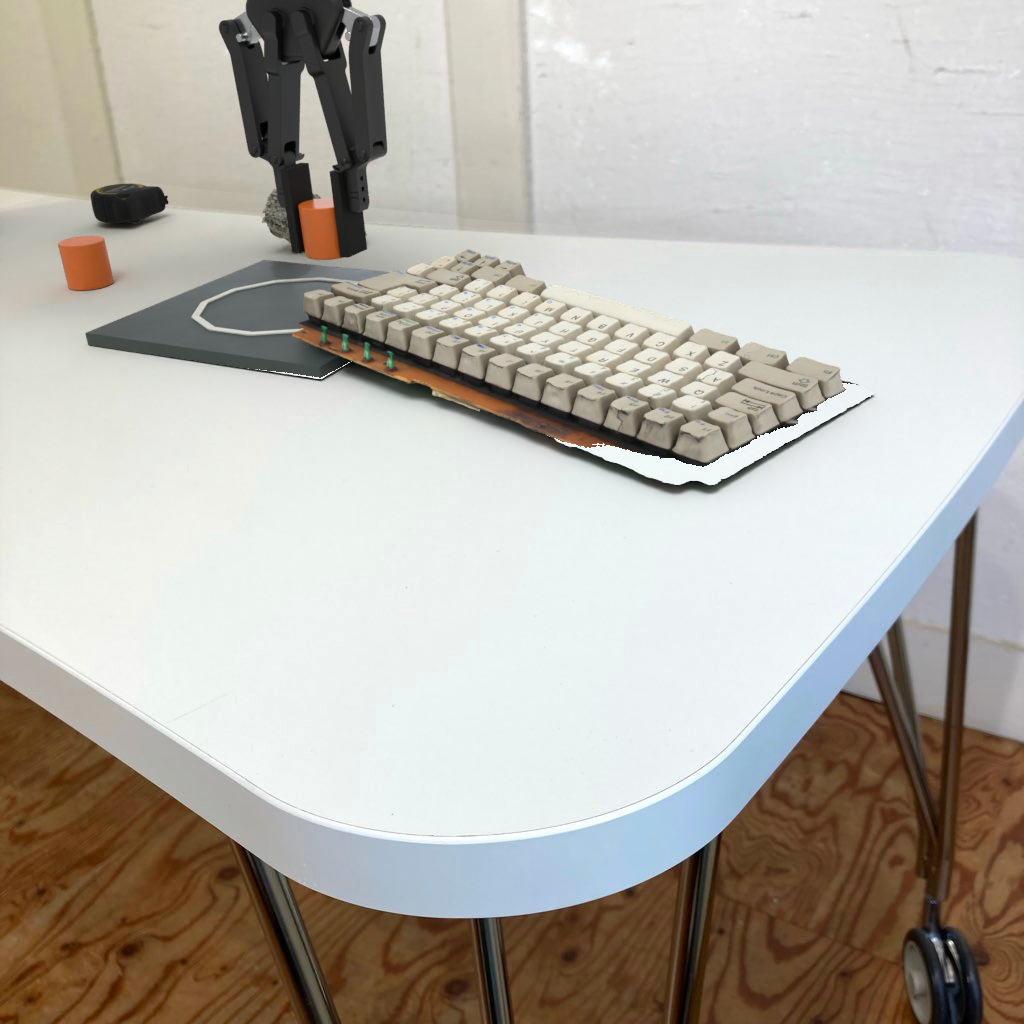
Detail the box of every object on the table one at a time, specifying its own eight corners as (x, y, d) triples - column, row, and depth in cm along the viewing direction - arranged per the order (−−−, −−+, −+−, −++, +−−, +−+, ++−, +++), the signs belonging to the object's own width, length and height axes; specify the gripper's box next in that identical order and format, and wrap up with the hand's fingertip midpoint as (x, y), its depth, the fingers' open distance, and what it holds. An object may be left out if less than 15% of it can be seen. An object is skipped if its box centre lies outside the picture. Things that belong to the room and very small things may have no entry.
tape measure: (130, 231, 116) (122, 196, 114) (82, 227, 119) (74, 193, 117) (171, 216, 122) (165, 183, 120) (125, 213, 124) (118, 180, 122)
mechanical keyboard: (875, 395, 67) (882, 343, 65) (696, 505, 55) (700, 445, 53) (461, 281, 90) (459, 241, 88) (273, 341, 78) (267, 296, 76)
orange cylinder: (58, 288, 97) (47, 244, 95) (91, 276, 100) (81, 234, 98) (90, 292, 95) (80, 247, 93) (123, 280, 98) (113, 237, 96)
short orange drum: (295, 258, 85) (287, 207, 83) (324, 245, 88) (317, 196, 86) (336, 261, 83) (330, 210, 81) (365, 249, 86) (359, 198, 84)
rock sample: (341, 219, 99) (296, 149, 101) (286, 273, 101) (243, 203, 103) (398, 242, 108) (355, 177, 110) (346, 291, 111) (305, 227, 113)
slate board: (87, 345, 82) (84, 331, 82) (265, 270, 99) (263, 258, 99) (321, 380, 73) (319, 365, 73) (472, 291, 90) (471, 278, 90)
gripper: (418, -91, 73) (444, 246, 85) (226, -77, 81) (273, 233, 92) (358, -91, 68) (394, 271, 79) (156, -76, 75) (216, 255, 86)
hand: (329, 250), depth 85 cm, fingers closed on short orange drum, 4 cm apart
